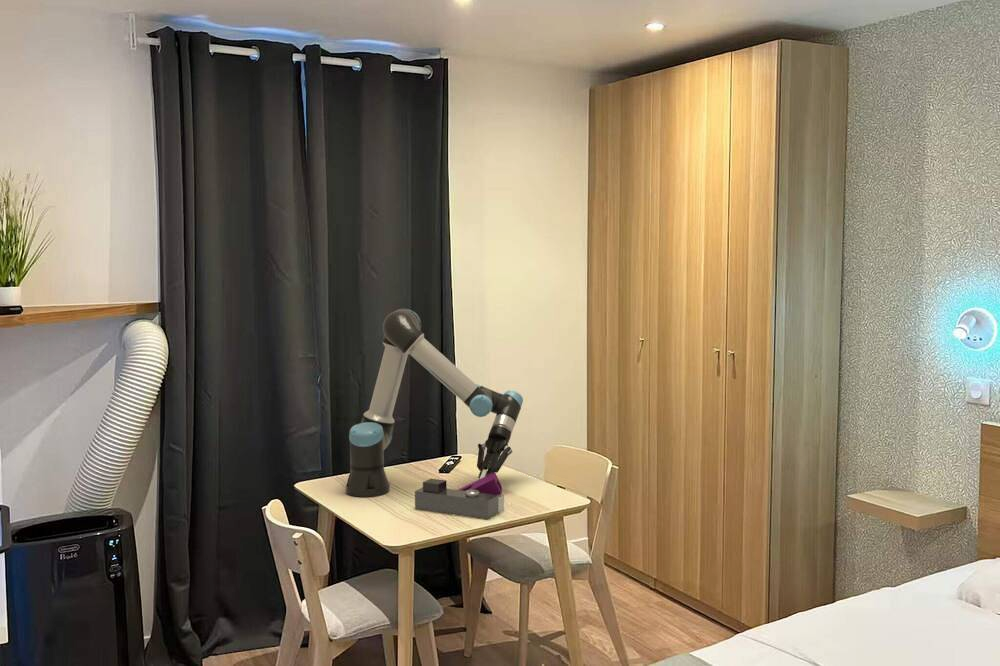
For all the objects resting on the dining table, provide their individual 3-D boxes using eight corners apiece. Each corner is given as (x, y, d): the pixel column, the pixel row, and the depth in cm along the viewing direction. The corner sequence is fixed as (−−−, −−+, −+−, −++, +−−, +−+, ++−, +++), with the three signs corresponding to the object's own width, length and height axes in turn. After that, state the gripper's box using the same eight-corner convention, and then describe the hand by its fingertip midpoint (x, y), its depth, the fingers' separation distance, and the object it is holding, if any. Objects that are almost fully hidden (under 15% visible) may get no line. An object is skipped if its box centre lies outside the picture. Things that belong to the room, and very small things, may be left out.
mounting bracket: (456, 525, 288) (505, 501, 287) (444, 502, 288) (493, 479, 287) (458, 516, 298) (505, 493, 297) (447, 494, 297) (494, 471, 296)
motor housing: (415, 509, 287) (414, 482, 286) (432, 500, 296) (432, 474, 295) (488, 519, 274) (488, 491, 274) (504, 510, 284) (503, 482, 283)
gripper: (521, 437, 311) (501, 496, 298) (488, 434, 317) (467, 491, 303) (514, 426, 306) (493, 484, 292) (481, 423, 311) (459, 480, 298)
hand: (480, 488), depth 298 cm, fingers closed
